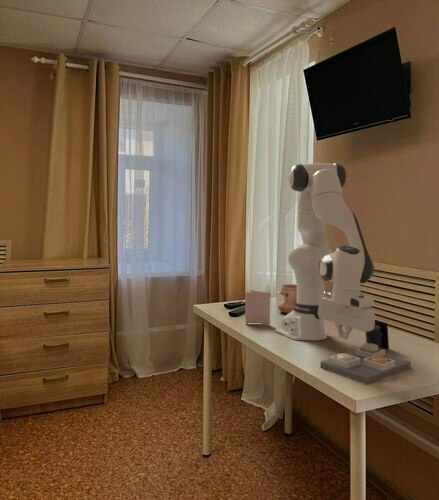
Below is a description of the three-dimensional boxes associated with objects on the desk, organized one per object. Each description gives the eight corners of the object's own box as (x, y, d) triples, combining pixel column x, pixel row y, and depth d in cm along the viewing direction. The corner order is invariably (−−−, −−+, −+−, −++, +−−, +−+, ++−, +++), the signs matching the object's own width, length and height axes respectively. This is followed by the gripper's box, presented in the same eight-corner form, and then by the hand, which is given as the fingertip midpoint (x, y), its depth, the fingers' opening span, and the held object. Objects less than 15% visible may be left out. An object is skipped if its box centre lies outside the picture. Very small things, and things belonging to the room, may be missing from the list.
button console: (320, 367, 141) (320, 355, 141) (363, 353, 156) (364, 342, 155) (367, 384, 127) (367, 371, 127) (410, 367, 141) (410, 355, 141)
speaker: (380, 343, 166) (379, 318, 165) (389, 349, 161) (388, 323, 159) (362, 347, 165) (361, 321, 163) (371, 352, 159) (370, 326, 157)
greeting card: (271, 324, 196) (271, 293, 195) (261, 328, 191) (261, 295, 189) (251, 320, 204) (252, 289, 203) (241, 323, 199) (242, 292, 197)
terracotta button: (367, 364, 138) (367, 358, 137) (376, 361, 141) (376, 355, 140) (381, 368, 134) (381, 362, 133) (390, 365, 137) (390, 359, 136)
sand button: (333, 361, 140) (334, 356, 140) (343, 358, 143) (343, 353, 143) (346, 366, 136) (346, 360, 136) (356, 363, 139) (356, 357, 139)
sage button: (359, 350, 148) (359, 344, 148) (368, 347, 151) (368, 342, 151) (372, 354, 144) (372, 348, 144) (380, 351, 147) (381, 345, 147)
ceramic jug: (279, 316, 212) (280, 288, 211) (273, 309, 227) (273, 283, 225) (314, 316, 214) (315, 288, 213) (305, 309, 229) (306, 283, 227)
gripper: (314, 291, 144) (312, 331, 146) (366, 304, 128) (363, 348, 129) (327, 290, 148) (324, 328, 149) (379, 301, 131) (375, 345, 133)
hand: (343, 337), depth 139 cm, fingers closed
